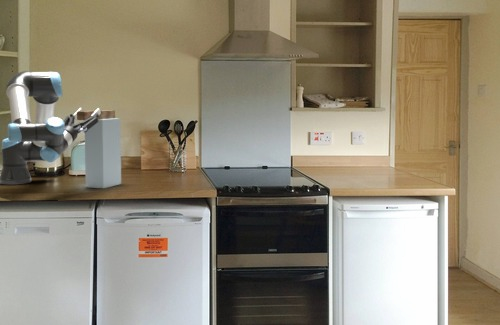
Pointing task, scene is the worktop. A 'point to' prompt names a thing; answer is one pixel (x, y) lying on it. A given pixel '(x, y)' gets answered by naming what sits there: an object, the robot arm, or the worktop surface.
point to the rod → (104, 115)
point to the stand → (103, 154)
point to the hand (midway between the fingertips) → (90, 110)
